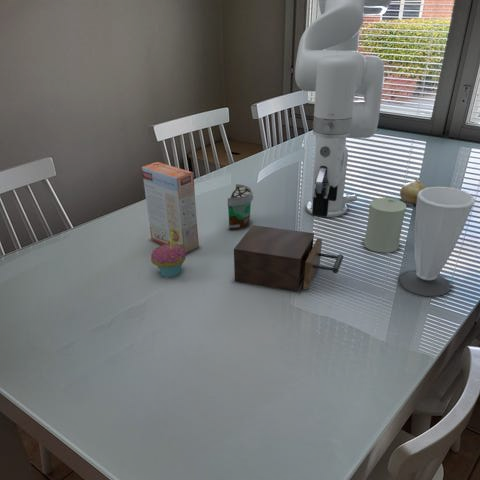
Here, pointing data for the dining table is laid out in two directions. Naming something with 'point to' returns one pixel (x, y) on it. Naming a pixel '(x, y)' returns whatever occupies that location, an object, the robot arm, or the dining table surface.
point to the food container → (240, 207)
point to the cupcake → (168, 258)
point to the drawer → (316, 263)
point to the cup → (436, 237)
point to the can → (384, 224)
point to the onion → (411, 192)
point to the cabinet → (271, 257)
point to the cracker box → (171, 205)
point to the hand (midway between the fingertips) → (324, 207)
